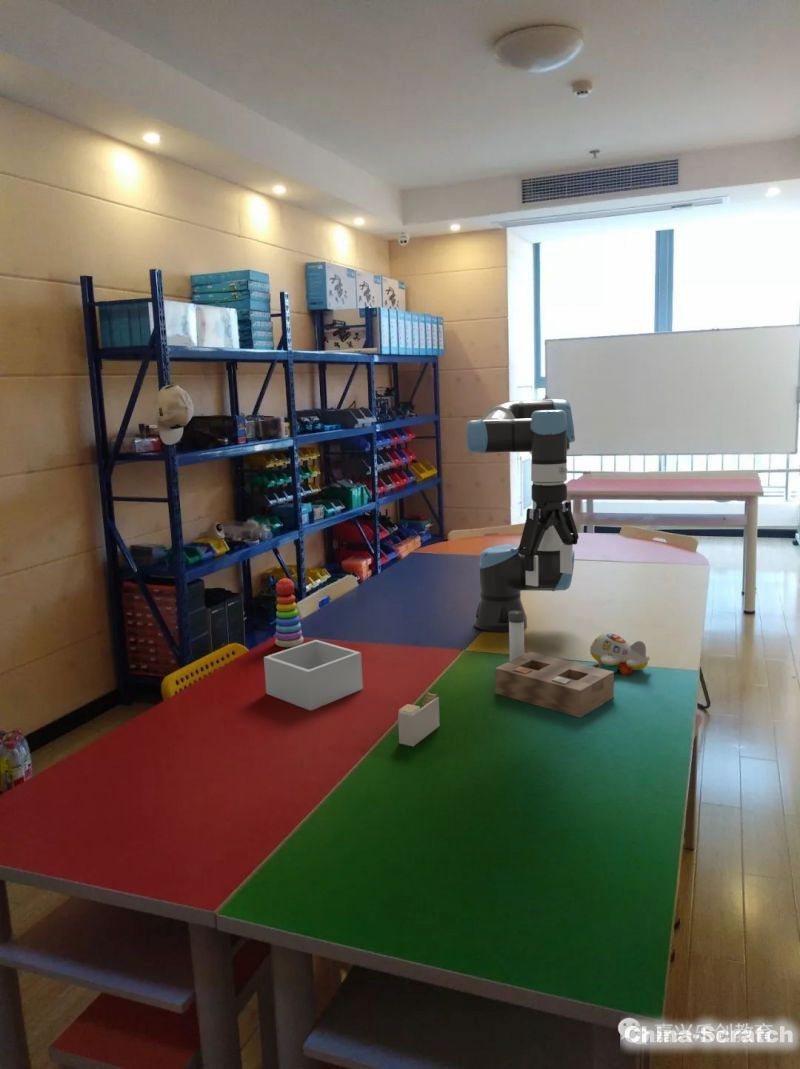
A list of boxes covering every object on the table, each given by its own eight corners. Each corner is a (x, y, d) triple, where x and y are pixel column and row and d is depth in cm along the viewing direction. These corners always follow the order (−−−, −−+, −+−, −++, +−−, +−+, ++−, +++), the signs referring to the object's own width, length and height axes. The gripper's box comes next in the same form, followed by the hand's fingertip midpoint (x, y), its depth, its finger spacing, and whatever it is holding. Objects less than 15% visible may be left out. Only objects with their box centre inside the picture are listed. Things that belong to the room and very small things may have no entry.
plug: (506, 667, 196) (505, 613, 193) (515, 663, 198) (514, 609, 196) (518, 670, 193) (518, 615, 191) (527, 666, 196) (527, 612, 193)
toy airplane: (634, 650, 181) (578, 633, 191) (631, 685, 183) (575, 667, 193) (662, 636, 190) (607, 621, 200) (659, 670, 192) (604, 654, 202)
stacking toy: (309, 640, 223) (305, 576, 219) (293, 649, 216) (289, 583, 212) (285, 638, 226) (281, 574, 223) (269, 646, 219) (265, 581, 216)
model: (399, 745, 156) (397, 708, 155) (426, 725, 165) (425, 690, 164) (413, 748, 155) (411, 711, 153) (439, 728, 164) (438, 693, 162)
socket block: (495, 693, 180) (495, 666, 179) (530, 675, 190) (530, 650, 188) (580, 717, 165) (580, 689, 164) (613, 697, 175) (613, 670, 173)
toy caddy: (266, 693, 185) (263, 657, 183) (318, 674, 196) (316, 639, 195) (310, 710, 174) (308, 671, 172) (362, 689, 185) (360, 652, 184)
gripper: (530, 490, 158) (531, 593, 162) (594, 477, 175) (593, 570, 179) (500, 488, 163) (501, 588, 167) (565, 475, 181) (565, 566, 184)
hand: (549, 579), depth 173 cm, fingers open, 13 cm apart
